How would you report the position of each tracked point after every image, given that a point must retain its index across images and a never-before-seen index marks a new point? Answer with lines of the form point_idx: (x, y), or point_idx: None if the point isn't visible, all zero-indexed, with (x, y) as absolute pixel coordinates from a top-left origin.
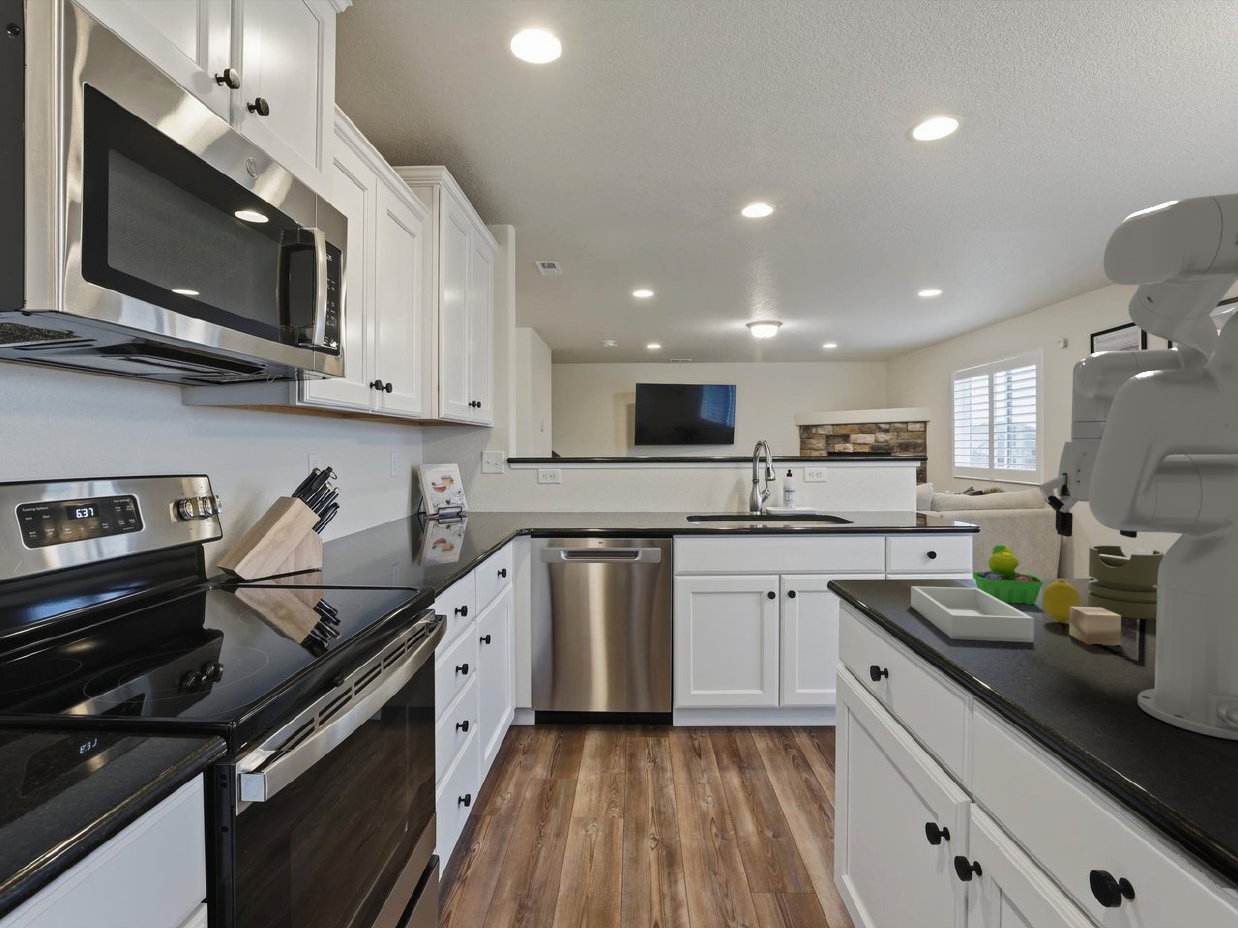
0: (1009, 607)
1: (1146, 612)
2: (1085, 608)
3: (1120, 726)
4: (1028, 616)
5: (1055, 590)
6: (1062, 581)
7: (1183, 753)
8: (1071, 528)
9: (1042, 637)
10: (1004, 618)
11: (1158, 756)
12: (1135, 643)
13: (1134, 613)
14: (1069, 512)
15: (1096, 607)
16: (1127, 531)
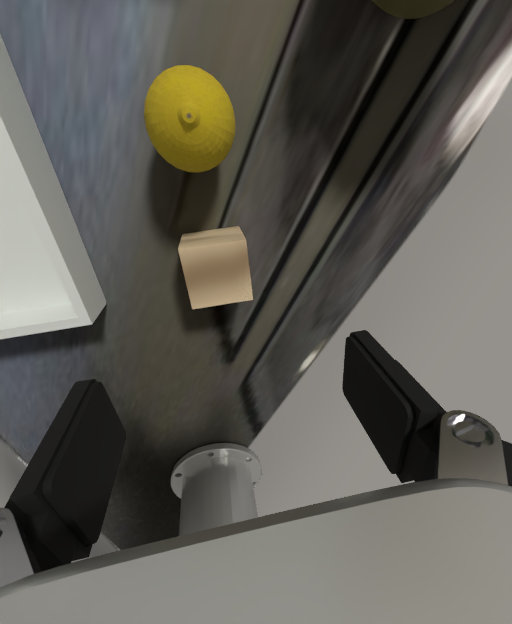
0: (44, 244)
1: (430, 10)
2: (207, 257)
3: (143, 503)
4: (83, 313)
5: (165, 150)
6: (188, 126)
7: (170, 520)
8: (115, 465)
9: (128, 266)
10: (35, 332)
11: (152, 528)
12: (275, 258)
13: (402, 10)
14: (78, 546)
15: (234, 240)
16: (352, 385)
